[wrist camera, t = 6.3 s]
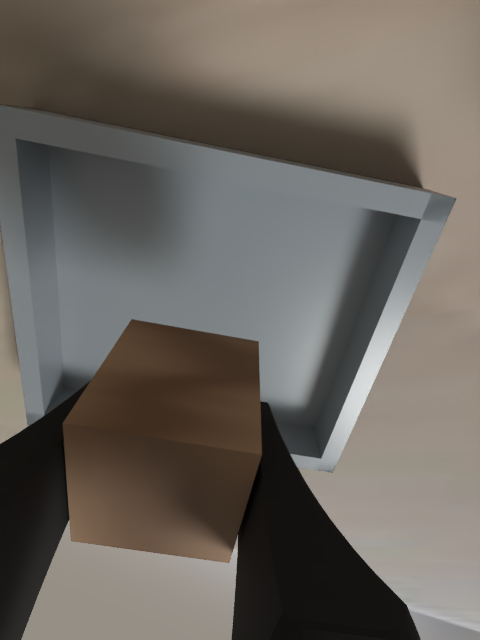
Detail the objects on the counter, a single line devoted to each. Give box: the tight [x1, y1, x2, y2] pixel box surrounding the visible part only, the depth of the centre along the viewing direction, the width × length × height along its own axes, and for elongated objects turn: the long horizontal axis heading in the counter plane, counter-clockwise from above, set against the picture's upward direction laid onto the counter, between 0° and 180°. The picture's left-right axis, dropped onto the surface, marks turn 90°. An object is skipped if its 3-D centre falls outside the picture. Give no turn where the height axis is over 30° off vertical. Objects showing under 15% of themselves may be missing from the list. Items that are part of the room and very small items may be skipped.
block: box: [63, 319, 262, 563], centre depth 11 cm, size 4×4×5 cm
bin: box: [0, 104, 457, 473], centre depth 18 cm, size 18×16×3 cm
